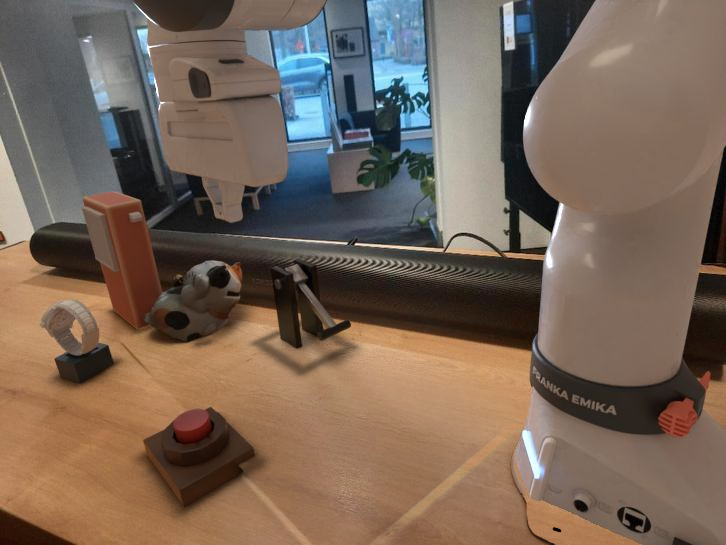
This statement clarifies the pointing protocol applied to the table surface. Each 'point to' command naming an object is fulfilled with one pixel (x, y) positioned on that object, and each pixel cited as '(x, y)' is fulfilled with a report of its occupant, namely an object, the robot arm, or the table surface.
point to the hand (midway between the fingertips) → (229, 219)
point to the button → (192, 426)
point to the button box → (198, 458)
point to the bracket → (295, 303)
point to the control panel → (123, 253)
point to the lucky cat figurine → (197, 301)
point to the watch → (76, 341)
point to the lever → (316, 305)
